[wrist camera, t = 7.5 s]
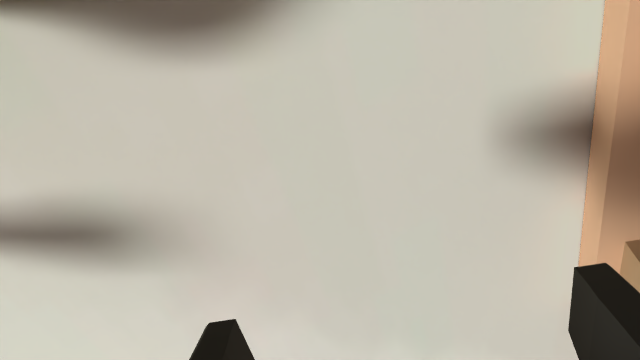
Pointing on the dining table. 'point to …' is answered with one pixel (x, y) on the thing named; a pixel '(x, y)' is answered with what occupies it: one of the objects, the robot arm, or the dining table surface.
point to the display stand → (615, 148)
